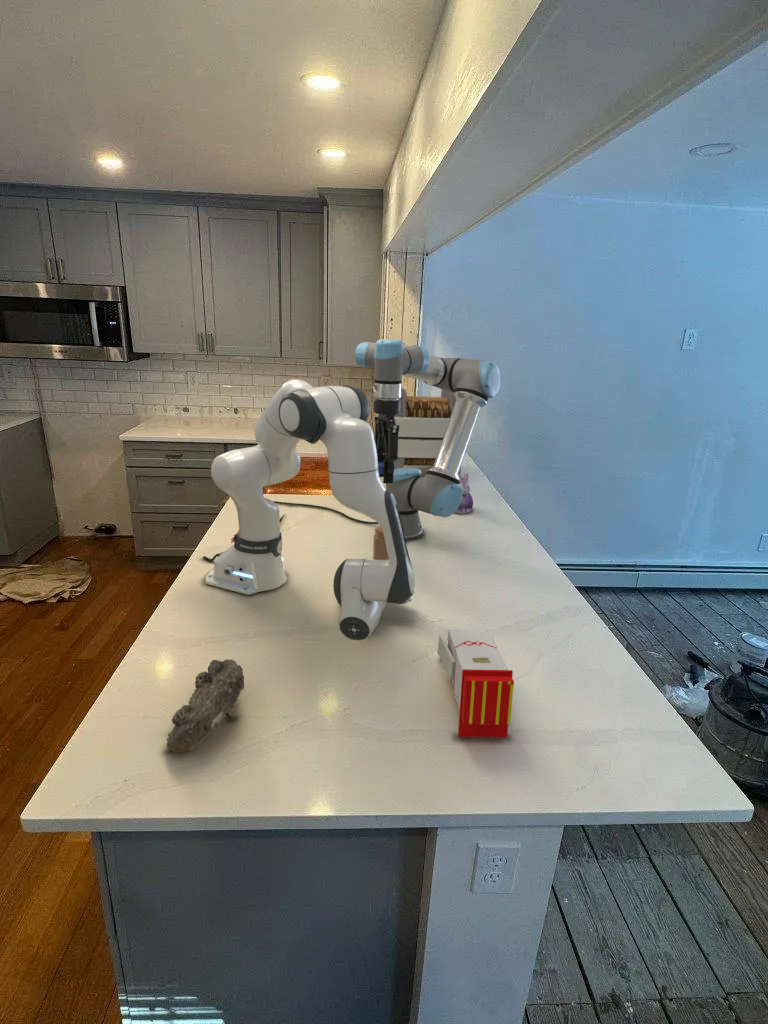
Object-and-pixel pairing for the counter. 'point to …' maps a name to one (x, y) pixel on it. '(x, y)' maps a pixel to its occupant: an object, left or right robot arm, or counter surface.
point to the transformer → (422, 428)
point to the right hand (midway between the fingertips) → (384, 479)
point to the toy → (478, 682)
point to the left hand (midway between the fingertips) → (381, 573)
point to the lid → (381, 467)
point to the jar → (380, 546)
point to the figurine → (465, 496)
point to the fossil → (206, 705)
